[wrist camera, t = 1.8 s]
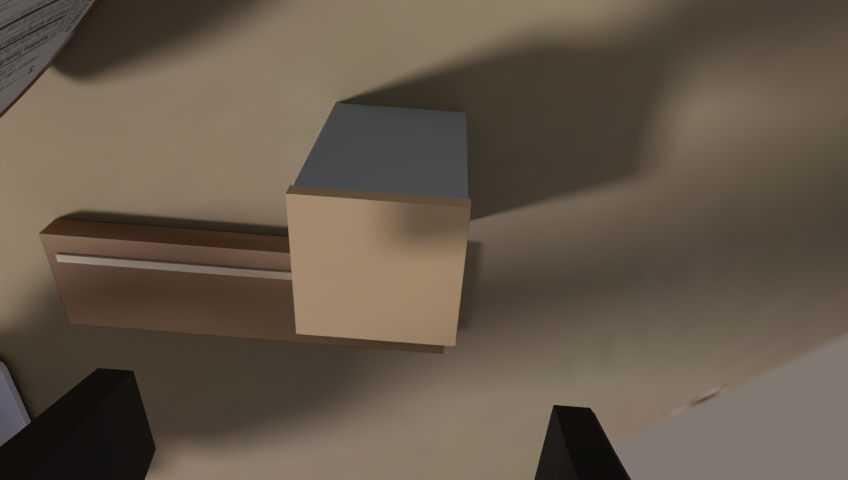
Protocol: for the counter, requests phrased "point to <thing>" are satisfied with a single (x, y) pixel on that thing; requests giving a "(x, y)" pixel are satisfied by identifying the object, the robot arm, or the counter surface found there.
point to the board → (182, 282)
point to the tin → (34, 40)
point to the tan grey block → (381, 226)
